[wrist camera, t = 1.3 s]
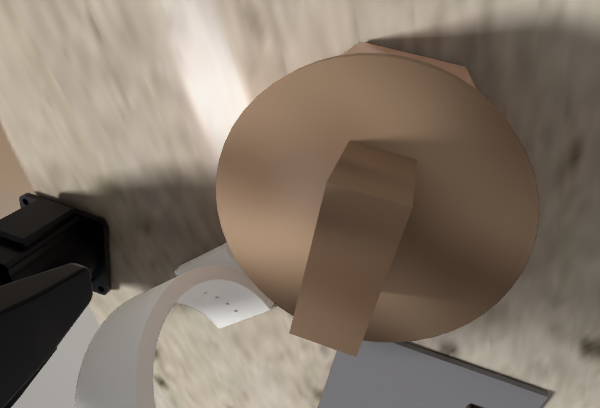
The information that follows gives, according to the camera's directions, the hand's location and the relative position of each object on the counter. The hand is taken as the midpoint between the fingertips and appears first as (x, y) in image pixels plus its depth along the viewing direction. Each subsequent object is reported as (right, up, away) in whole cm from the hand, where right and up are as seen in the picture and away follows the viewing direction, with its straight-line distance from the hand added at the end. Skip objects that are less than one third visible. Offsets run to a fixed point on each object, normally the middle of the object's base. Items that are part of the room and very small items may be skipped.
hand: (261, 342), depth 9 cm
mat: (+8, -12, +19) cm, 24 cm away
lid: (+3, +3, +7) cm, 8 cm away
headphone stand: (-4, -2, +18) cm, 19 cm away
